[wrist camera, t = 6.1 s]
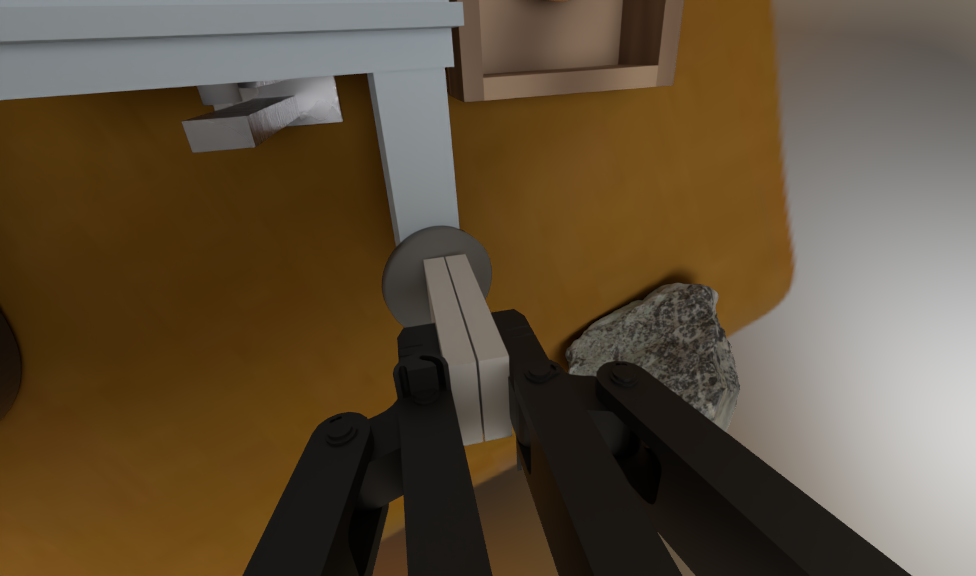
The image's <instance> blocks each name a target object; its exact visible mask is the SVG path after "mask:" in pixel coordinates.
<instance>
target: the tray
mask: <svg viewBox="0 0 976 576" xmlns="http://www.w3.org/2000/svg"><path fill="white" fill-rule="evenodd" d="M449 2H463V14H464V26H459V27H454V28H451V32H452V44H453V57H454V67H447V68H448V79H449V90H450V95H451V96H453V97H455V98H457V99H459V100H461V101H463V102H473V101H485V100H497V99H510V98H522V97H534V96H547V95H559V94H571V93H583V92H596V91H608V90H620V89H633V88H645V87H657V86H670V85H673V81H674V74H675V66H676V59H677V51H678V44H679V36H680V28H681V21H682V13H683V6H684V0H568V1H550V0H449Z"/></svg>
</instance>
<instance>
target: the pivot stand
mask: <svg viewBox="0 0 976 576" xmlns="http://www.w3.org/2000/svg"><path fill="white" fill-rule="evenodd" d="M237 84H238V88H239V91H240V94H241V98H242V102H238V103H230V104H219V105H213V106H214V109H215V111H213V112H210V113H207V114H204V115H200V116H197V117H194V118H191V119H188V120H184V121H181V122H182V125H183V127H184V130H185V133H186V135H187V138H188V141H189V144H190V146H191V149H192V152H193V153H195V152H206V151H217V150H228V149H239V148H250V147H256V146H258V145H259V144H261V143H262V142H263V141H265V140H266V139H268V138H269V137H271V136H272V135H273V134H275V133H276V132H278V131H279V130H280V129H282V128H283V127H286V126H298V125H310V124H322V123H334V122H343V115H342V110H341V105H340V100H339V95H338V90H337V85H336V80H335V75H334V76H320V77H307V78H293V79H280V80H266V81H252V82H239V83H237Z"/></svg>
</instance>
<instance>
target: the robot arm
mask: <svg viewBox="0 0 976 576" xmlns="http://www.w3.org/2000/svg"><path fill="white" fill-rule="evenodd" d="M445 258H446V263H445V260H444V257H440V258H433V259H425V260H423V261H424V268H425V276H426V283H427V290H428V298H429V305H430V312H431V319H432V323H431V324H424V325H418V326H412V327H406V328H403V330H402V331H401V333H400V334H399V336H398V338H397V340H398V357H399V363H398V364H397V365H396V366H395V368H394V372H393V377H394V382H395V387H396V392H397V397H398V399H397V401H396V402H395V403H394V404H393V405H392V406H391V407H390V408H389V409H387V410H386V411H384V412H383V413H381V414H379V415H377V416H374V417H372V418H370V419H367V417H365V416H363V415H362V414H360V413H354V412H346V413H340V414H337V415H334V416H332V417H330V418H328V419H326V420H325V421H324V422H322V423H321V424H320V425H318V427H317V428H316V429H315V431H314V432H313V433H312V435H311V437H310V439H309V441H308V443H307V445H306V447H305V449H304V451H303V454H302V456H301V458H300V460H299V462H298V464H297V466H296V468H295V470H294V472H293V474H292V476H291V478H290V480H289V482H288V484H287V486H286V488H285V490H284V492H283V494H282V496H281V498H280V500H279V502H278V504H277V506H276V508H275V511H274V513H273V515H272V517H271V519H270V521H269V523H268V525H267V527H266V529H265V531H264V533H263V535H262V537H261V539H260V541H259V543H258V545H257V547H256V549H255V551H254V553H253V555H252V557H251V559H250V561H249V563H248V565H247V567H246V570H245V572H244V574H243V576H372V574H373V570H374V566H375V562H376V558H377V554H378V550H379V546H380V541H381V537H382V533H383V529H384V525H385V521H386V517H387V513H388V508H389V502H391V501H393V500H395V499H397V498H399V497H400V496H402V495H404V512H405V530H406V547H407V565H408V576H492V572H491V568H490V563H489V558H488V554H487V549H486V544H485V540H484V535H483V531H482V526H481V522H480V517H479V513H478V508H477V504H476V499H475V495H474V490H473V485H472V481H471V476H470V472H469V467H468V463H467V458H466V454H465V449H464V446H465V445H470V444H475V443H479V442H483V437H482V431H483V435H484V438H485V441H489V440H494V439H499V438H504V437H508V436H512V425H513V428H514V431H515V434H516V446H517V468H518V471H519V470H522V467H523V470H524V473H525V476H526V479H527V482H528V485H529V488H530V491H531V494H532V497H533V500H534V503H535V506H536V509H537V512H538V515H539V518H540V521H541V524H542V527H543V530H544V533H545V536H546V539H547V542H548V545H549V548H550V551H551V554H552V557H553V560H554V563H555V566H556V569H557V572H558V575H559V576H682V574H681V572H680V571H679V569H678V567H677V565H676V564H675V562H674V560H673V559H672V557H671V555H670V553H669V552H668V550H667V548H666V546H665V545H664V543H663V541H662V539H661V538H660V536H659V534H660V535H661V536H662V537H663V538H664V540H665V541H666V542H667V543H668V544H669V545H670V547H671V548H672V549H673V550H674V551H675V552H676V553H677V555H678V556H679V557H680V558H681V559H682V560H683V561H684V563H685V564H686V565H687V566H688V567H689V568H690V570H691V571H692V572H693V573H694V574H695V575H696V576H911V575H910V574H909V573H907V572H906V571H905V570H904V569H902V568H901V567H900V566H899V565H897V564H896V563H895V562H893V561H892V560H891V559H890V558H888V557H887V556H886V555H884V554H883V553H882V552H880V551H879V550H878V549H877V548H875V547H874V546H873V545H871V544H870V543H869V542H867V541H866V540H865V539H864V538H862V537H861V536H860V535H858V534H857V533H856V532H854V531H853V530H852V529H851V528H849V527H848V526H847V525H845V524H844V523H843V522H842V521H840V520H839V519H838V518H836V517H835V516H834V515H833V514H831V513H830V512H829V511H827V510H826V509H825V508H823V507H822V506H821V505H820V504H818V503H817V502H816V501H814V500H813V499H812V498H810V497H809V496H808V495H807V494H805V493H804V492H803V491H801V490H800V489H799V488H798V487H796V486H795V485H794V484H792V483H791V482H790V481H788V480H787V479H786V478H785V477H783V476H782V475H781V474H779V473H778V472H777V471H776V470H774V469H773V468H772V467H770V466H769V465H768V464H766V463H765V462H764V461H763V460H761V459H760V458H759V457H757V456H756V455H755V454H754V453H752V452H751V451H750V450H748V449H747V448H746V447H744V446H743V445H742V444H741V443H739V442H738V441H737V440H735V439H734V438H733V437H732V436H730V435H729V434H727V433H726V432H725V431H724V430H722V429H721V428H720V427H719V426H717V425H716V424H715V423H713V422H712V421H711V420H710V419H708V418H707V417H706V416H704V415H703V414H702V413H700V412H699V411H698V410H697V409H695V408H694V407H693V406H691V405H690V404H689V403H688V402H686V401H685V400H684V399H682V398H681V397H680V396H678V395H677V394H676V393H675V392H673V391H672V390H671V389H669V388H668V387H667V386H665V385H664V384H663V383H662V382H660V381H659V380H658V379H656V378H655V377H654V376H653V375H651V374H650V373H649V372H647V371H646V370H645V369H643V368H642V367H640V366H638V365H636V364H634V363H630V362H626V361H612V362H607V363H605V364H603V365H602V366H600V367H599V369H598V371H597V373H596V376H584V375H573V374H569V373H565V371H564V369H563V368H562V367H561V366H560V365H559V364H558V363H556V362H554V361H552V360H549V359H548V357H547V355H546V354H545V352H544V350H543V348H542V346H541V345H540V343H539V341H538V339H537V337H536V336H535V334H534V332H533V330H532V328H531V327H530V325H529V323H528V321H527V319H526V318H525V316H524V315H522V314H521V313H519V312H518V311H516V310H515V309H511V310H505V311H499V312H492V313H490V311H489V308H488V306H487V304H486V301H485V299H484V297H483V294H482V292H481V290H480V287H479V285H478V283H477V280H476V278H475V276H474V273H473V271H472V269H471V266H470V264H469V262H468V259H467V257H466V255H465V254H462V255H455V256H447V257H445ZM20 379H21V364H20V357H19V351H18V348H17V345H16V342H15V339H14V337H13V334H12V332H11V330H10V328H9V326H8V324H7V322H6V321H5V319H4V317H3V316H2V314H1V313H0V420H1V419H2V418H3V417H4V416H5V414H6V413H7V412H8V411H9V409H10V407H11V406H12V404H13V402H14V400H15V398H16V395H17V392H18V389H19V385H20ZM656 530H657V531H656ZM658 533H659V534H658Z"/></svg>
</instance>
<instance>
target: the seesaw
mask: <svg viewBox="0 0 976 576" xmlns="http://www.w3.org/2000/svg"><path fill="white" fill-rule="evenodd" d="M459 26H464V14H463V2H449V0H0V100H8V99H22V98H35V97H49V96H62V95H76V94H90V93H103V92H117V91H130V90H144V89H157V88H171V87H185V86H197V88H198V91H199V94H200V97H201V100H202V103H203V105H219V104H230V103H238V102H242V98H241V94H240V91H239V88H238V84H237V83H239V82H252V81H266V80H280V79H293V78H307V77H320V76H334V75H347V74H361V73H367V77H368V83H369V89H370V94H371V100H372V106H373V112H374V118H375V124H376V130H377V136H378V142H379V148H380V154H381V160H382V166H383V172H384V178H385V184H386V190H387V196H388V202H389V208H390V214H391V220H392V226H393V232H394V238H395V244H396V248H395V249H394V251H393V252H392V254H391V255H390V257H389V258H388V261H387V263H386V265H385V268H384V271H383V276H382V293H383V297H384V300H385V302H386V305H387V307H388V308H389V310H390V311H391V313H392V314H393V316H394V317H395V319H396V320H397V321H398V322H399V323H400V324H401V325H403V326H404V327H412V326H418V325H424V324H431V323H432V319H431V312H430V305H429V298H428V290H427V283H426V276H425V268H424V261H423V260H425V259H433V258H440V257H444V260H445V263H446V258H445V257H447V256H455V255H462V254H465V255H466V257H467V259H468V262H469V264H470V266H471V269H472V271H473V273H474V276H475V278H476V280H477V283H478V285H479V287H480V290H481V292H482V294H483V297H484V299H486V297H487V294H488V292H489V288H490V285H491V278H492V269H491V263H490V259H489V256H488V254H487V252H486V250H485V249H484V247H483V246H482V245H481V244H480V242H478V241H477V240H476V239H475V238H473V237H472V236H471V235H469V234H468V233H466V232H464V231H463V230H461V229H460V228H459V217H458V207H457V196H456V185H455V174H454V163H453V152H452V141H451V130H450V119H449V108H448V97H447V86H446V75H445V67H454V57H453V44H452V32H451V28H454V27H459Z"/></svg>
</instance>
